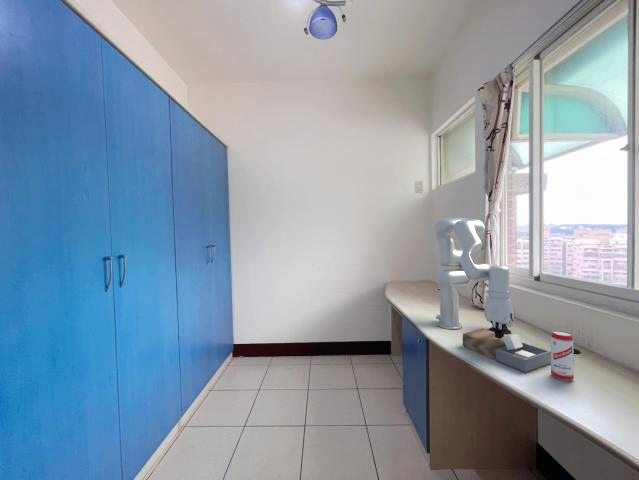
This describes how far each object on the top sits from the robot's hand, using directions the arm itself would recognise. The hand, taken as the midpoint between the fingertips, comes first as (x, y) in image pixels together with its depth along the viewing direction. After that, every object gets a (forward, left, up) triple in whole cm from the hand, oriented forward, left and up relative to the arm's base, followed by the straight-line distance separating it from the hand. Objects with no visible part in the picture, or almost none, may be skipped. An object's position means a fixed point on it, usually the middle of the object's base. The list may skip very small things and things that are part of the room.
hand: (499, 337), depth 122 cm
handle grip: (-17, +27, -7) cm, 33 cm away
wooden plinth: (-4, 0, -7) cm, 8 cm away
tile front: (+10, 0, -3) cm, 11 cm away
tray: (+9, 0, -7) cm, 12 cm away
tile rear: (+4, 0, -1) cm, 4 cm away
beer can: (+23, 0, -7) cm, 24 cm away
